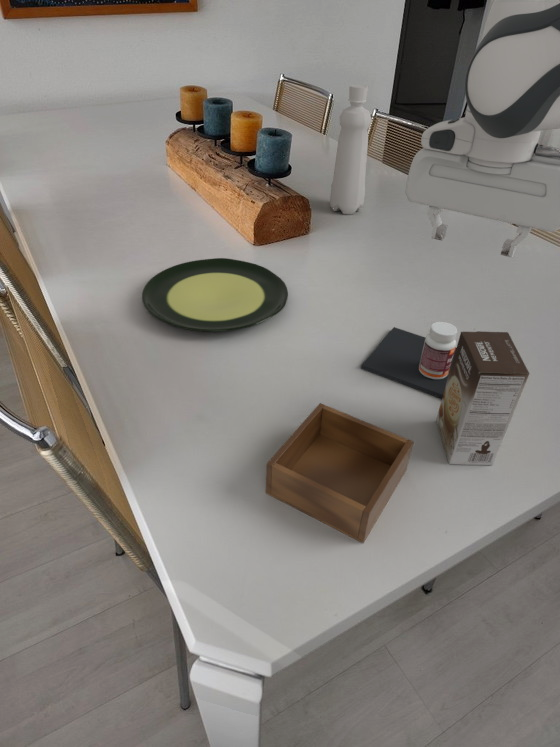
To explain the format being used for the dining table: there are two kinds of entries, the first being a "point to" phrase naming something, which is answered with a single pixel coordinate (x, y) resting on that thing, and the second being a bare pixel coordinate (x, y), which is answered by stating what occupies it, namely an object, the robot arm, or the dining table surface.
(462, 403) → the coffee box
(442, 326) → the pill bottle
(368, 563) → the dining table surface
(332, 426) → the wooden box
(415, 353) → the mat
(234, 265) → the plate
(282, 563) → the dining table surface
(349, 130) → the bottle
